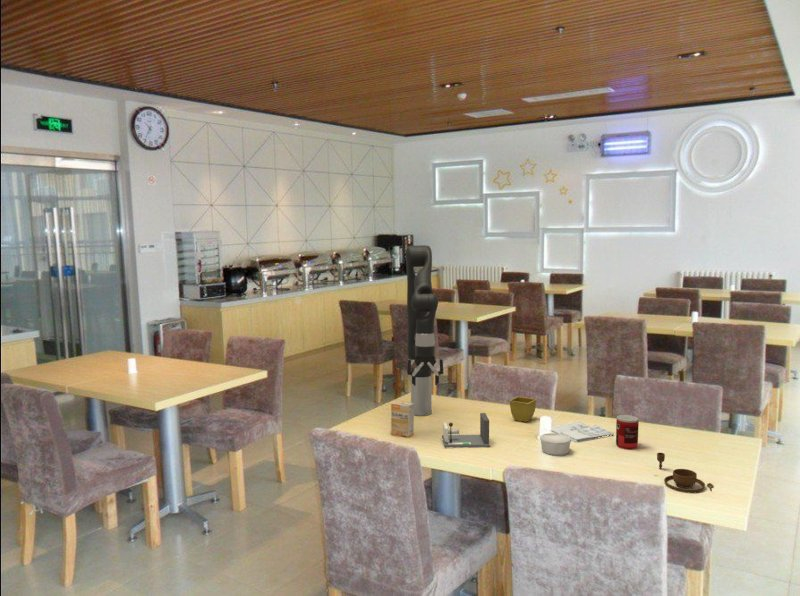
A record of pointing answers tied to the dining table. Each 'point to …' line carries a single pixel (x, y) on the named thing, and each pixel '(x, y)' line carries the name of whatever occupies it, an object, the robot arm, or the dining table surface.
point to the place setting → (682, 478)
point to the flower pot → (522, 408)
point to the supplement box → (402, 418)
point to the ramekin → (555, 443)
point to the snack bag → (580, 431)
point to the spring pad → (448, 432)
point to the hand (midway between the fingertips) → (425, 385)
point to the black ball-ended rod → (450, 430)
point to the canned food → (627, 431)
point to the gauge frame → (472, 436)
